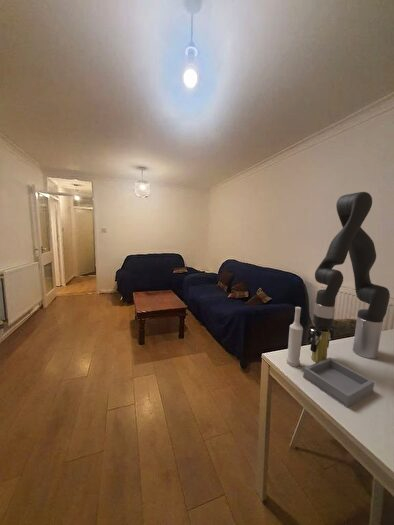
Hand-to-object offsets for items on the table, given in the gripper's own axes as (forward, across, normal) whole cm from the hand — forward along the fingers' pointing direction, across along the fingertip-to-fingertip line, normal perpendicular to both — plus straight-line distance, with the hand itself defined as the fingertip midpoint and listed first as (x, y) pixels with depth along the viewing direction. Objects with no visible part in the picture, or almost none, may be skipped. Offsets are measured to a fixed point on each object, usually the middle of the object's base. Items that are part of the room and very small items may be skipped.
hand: (319, 349), depth 95 cm
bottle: (+5, +13, -3) cm, 14 cm away
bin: (+5, +9, +13) cm, 17 cm away
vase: (+5, 0, 0) cm, 5 cm away
